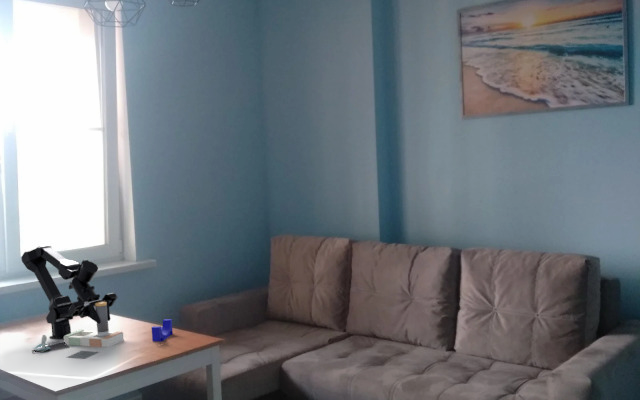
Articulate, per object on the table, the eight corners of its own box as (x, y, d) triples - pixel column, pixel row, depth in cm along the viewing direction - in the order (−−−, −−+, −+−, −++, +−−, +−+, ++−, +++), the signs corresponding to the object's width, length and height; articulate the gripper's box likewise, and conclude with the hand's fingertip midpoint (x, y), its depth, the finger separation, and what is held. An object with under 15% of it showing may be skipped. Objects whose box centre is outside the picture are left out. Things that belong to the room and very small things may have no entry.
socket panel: (63, 346, 251) (62, 336, 251) (80, 339, 260) (79, 329, 259) (107, 348, 244) (107, 338, 244) (123, 341, 253) (122, 331, 252)
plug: (96, 339, 248) (93, 304, 247) (99, 336, 252) (96, 302, 251) (107, 338, 248) (104, 304, 247) (110, 335, 252) (107, 301, 251)
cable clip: (161, 334, 261) (160, 319, 261) (172, 334, 260) (171, 319, 260) (148, 343, 249) (147, 327, 249) (160, 343, 248) (159, 327, 248)
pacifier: (34, 356, 240) (51, 352, 243) (32, 339, 240) (49, 335, 243) (31, 352, 246) (48, 348, 249) (29, 335, 246) (46, 331, 249)
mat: (66, 359, 234) (65, 357, 233) (81, 352, 241) (81, 350, 241) (84, 360, 231) (84, 358, 231) (99, 353, 238) (99, 351, 238)
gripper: (96, 298, 266) (116, 328, 260) (54, 308, 250) (74, 341, 245) (107, 280, 261) (128, 310, 255) (65, 289, 245) (86, 322, 240)
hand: (104, 321), depth 249 cm, fingers closed on plug, 4 cm apart
